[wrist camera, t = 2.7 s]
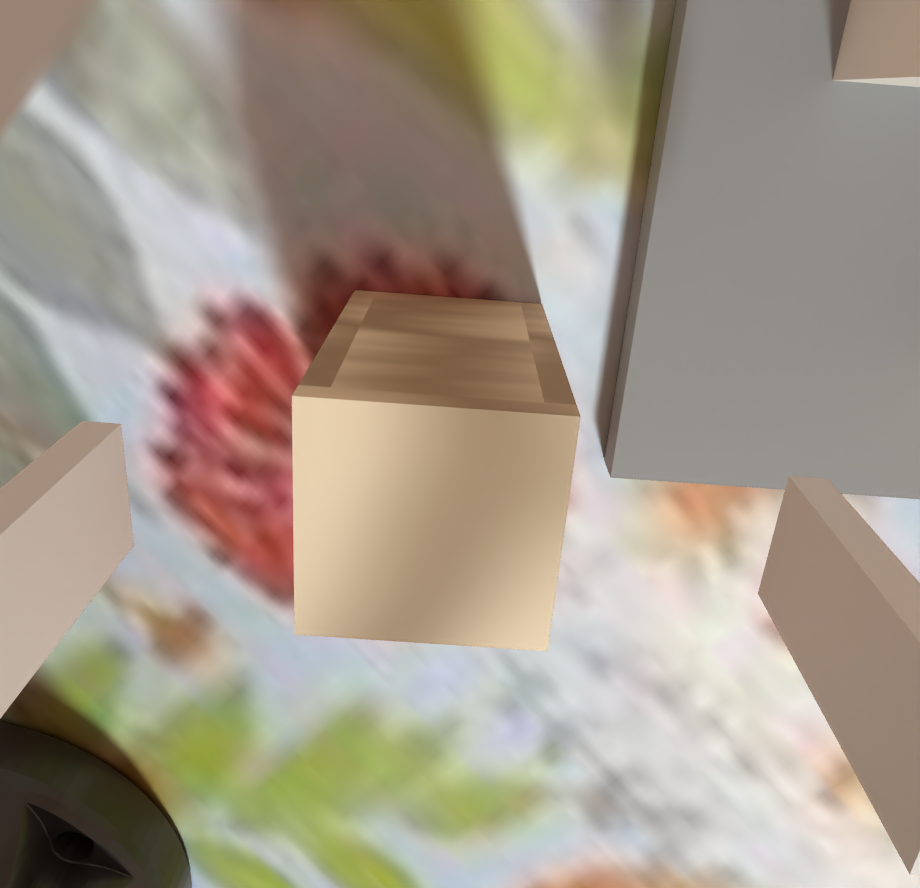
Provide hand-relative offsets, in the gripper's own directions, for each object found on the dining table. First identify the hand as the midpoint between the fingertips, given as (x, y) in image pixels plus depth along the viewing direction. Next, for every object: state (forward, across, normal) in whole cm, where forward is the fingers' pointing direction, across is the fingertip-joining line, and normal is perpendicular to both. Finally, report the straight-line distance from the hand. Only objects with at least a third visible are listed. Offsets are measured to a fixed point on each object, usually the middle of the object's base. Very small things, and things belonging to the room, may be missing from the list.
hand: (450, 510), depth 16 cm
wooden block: (+8, 0, 0) cm, 8 cm away
